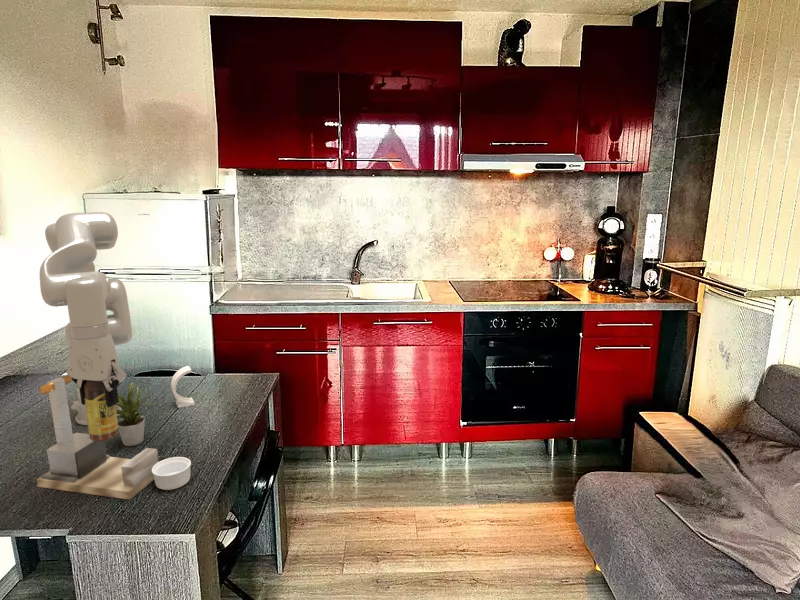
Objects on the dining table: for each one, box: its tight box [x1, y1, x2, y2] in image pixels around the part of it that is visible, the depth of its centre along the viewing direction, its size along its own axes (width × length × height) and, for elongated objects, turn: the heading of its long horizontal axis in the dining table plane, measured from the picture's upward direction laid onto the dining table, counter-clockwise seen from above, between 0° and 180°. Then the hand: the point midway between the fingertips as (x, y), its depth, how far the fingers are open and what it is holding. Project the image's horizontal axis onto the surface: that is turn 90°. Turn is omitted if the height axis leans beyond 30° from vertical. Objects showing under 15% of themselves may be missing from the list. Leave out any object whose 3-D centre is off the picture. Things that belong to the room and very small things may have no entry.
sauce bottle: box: [84, 380, 119, 441], centre depth 130 cm, size 6×6×20 cm
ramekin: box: [152, 456, 192, 491], centre depth 134 cm, size 9×9×4 cm
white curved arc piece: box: [170, 365, 196, 409], centre depth 177 cm, size 5×6×12 cm
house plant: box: [116, 381, 153, 447], centre depth 153 cm, size 14×14×16 cm
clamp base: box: [36, 447, 160, 500], centre depth 135 cm, size 26×13×7 cm, turn 78°
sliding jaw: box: [38, 374, 108, 479], centre depth 134 cm, size 8×9×23 cm
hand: (100, 402), depth 130 cm, fingers closed on sauce bottle, 6 cm apart
